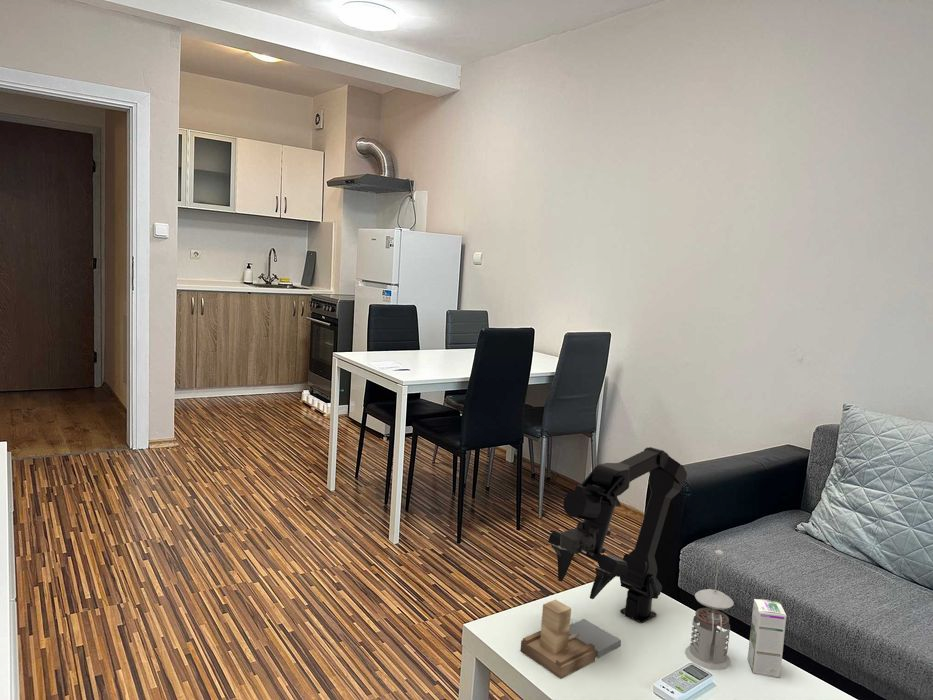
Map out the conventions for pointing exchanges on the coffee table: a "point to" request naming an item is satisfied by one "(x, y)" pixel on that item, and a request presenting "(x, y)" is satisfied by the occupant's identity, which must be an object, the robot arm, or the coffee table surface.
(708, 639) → the french press
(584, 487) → the robot arm
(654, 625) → the coffee table surface
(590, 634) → the grey rubber pad
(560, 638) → the oak mallet
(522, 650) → the walnut shelf lane
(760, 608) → the syrup box
